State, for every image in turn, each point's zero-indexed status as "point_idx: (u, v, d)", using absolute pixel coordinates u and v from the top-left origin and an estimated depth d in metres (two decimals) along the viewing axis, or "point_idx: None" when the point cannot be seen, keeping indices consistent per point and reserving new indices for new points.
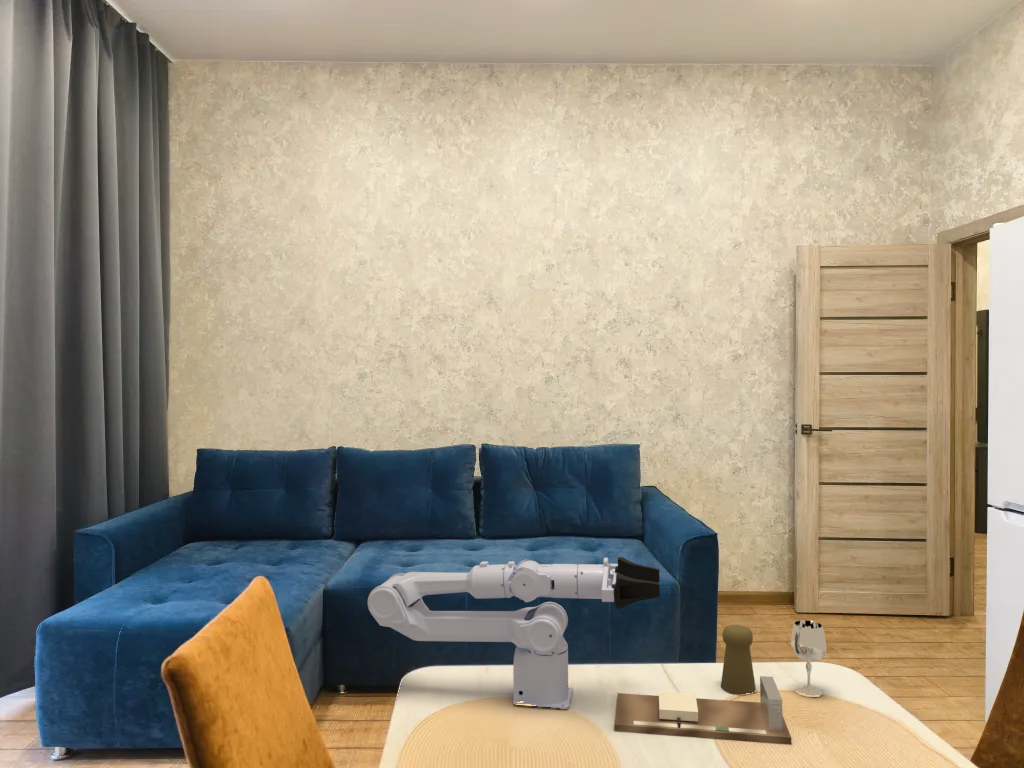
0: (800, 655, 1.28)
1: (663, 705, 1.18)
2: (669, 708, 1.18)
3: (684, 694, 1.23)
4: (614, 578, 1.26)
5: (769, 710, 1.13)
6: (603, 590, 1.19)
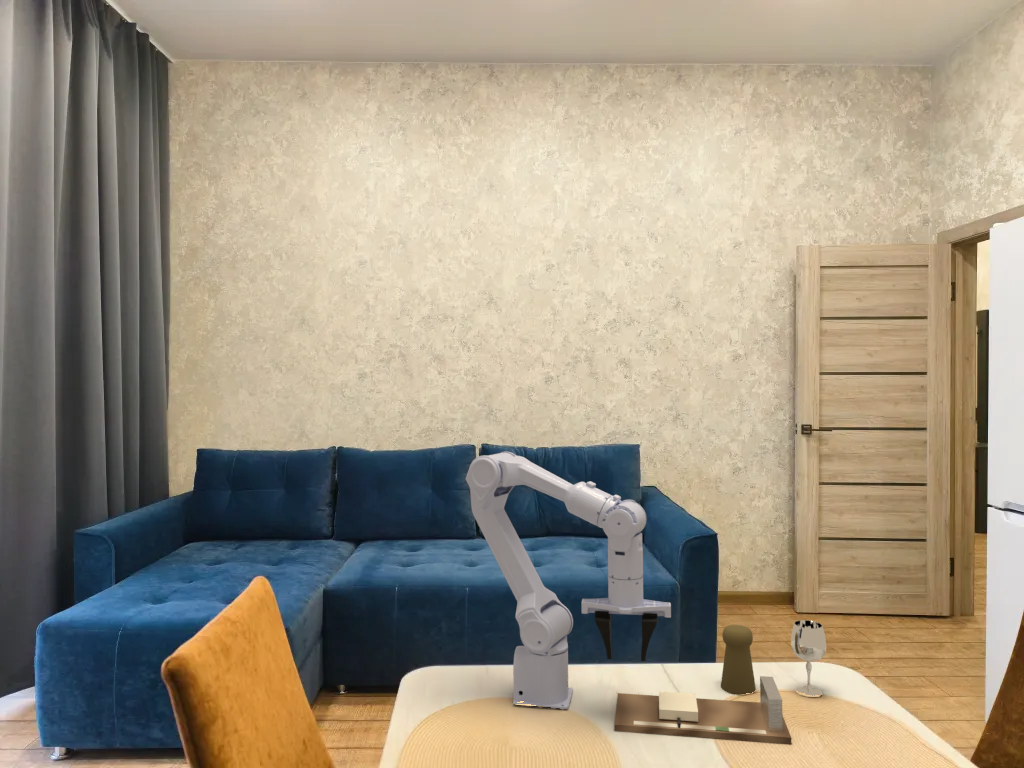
0: (800, 655, 1.28)
1: (663, 705, 1.18)
2: (669, 708, 1.18)
3: (684, 694, 1.23)
4: None
5: (769, 710, 1.13)
6: None
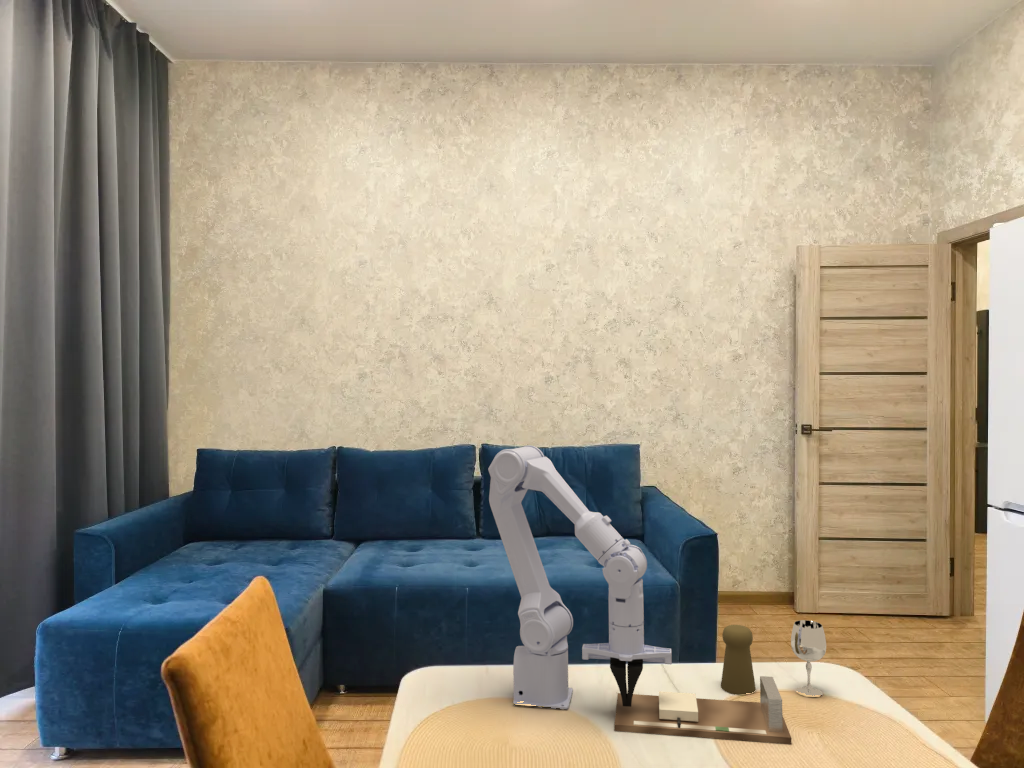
0: (800, 655, 1.28)
1: (663, 705, 1.18)
2: (669, 708, 1.18)
3: (684, 694, 1.23)
4: None
5: (769, 710, 1.13)
6: (582, 649, 1.22)
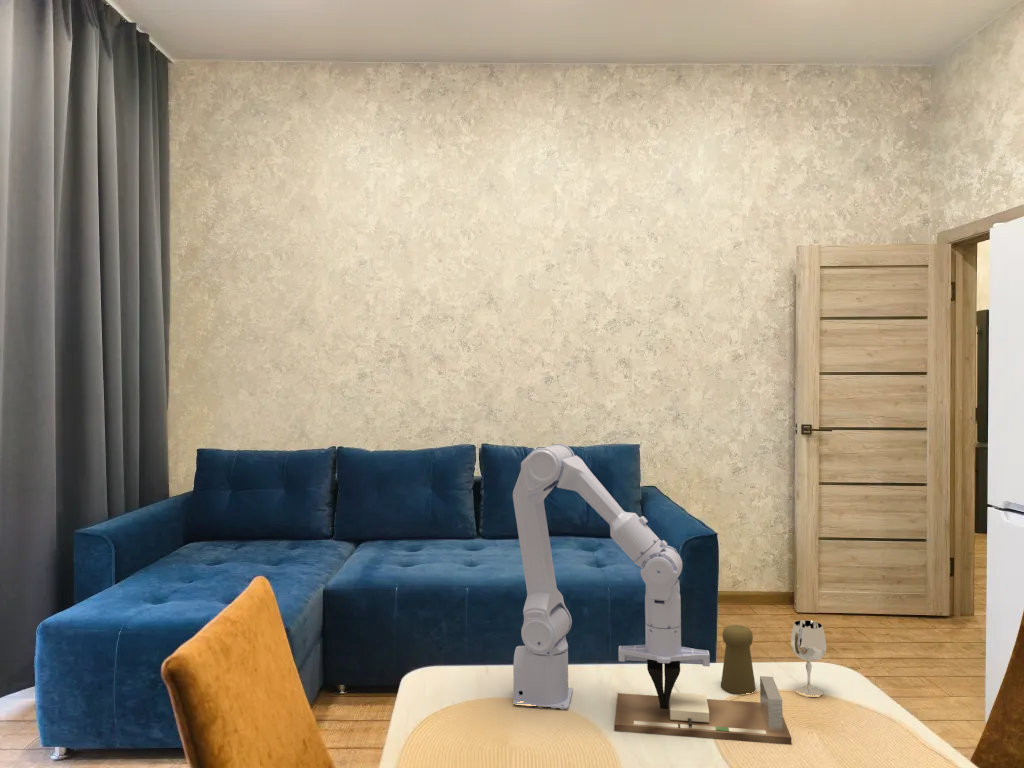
0: (800, 655, 1.28)
1: (673, 706, 1.18)
2: (680, 708, 1.17)
3: (695, 695, 1.22)
4: None
5: (769, 710, 1.13)
6: (618, 651, 1.21)
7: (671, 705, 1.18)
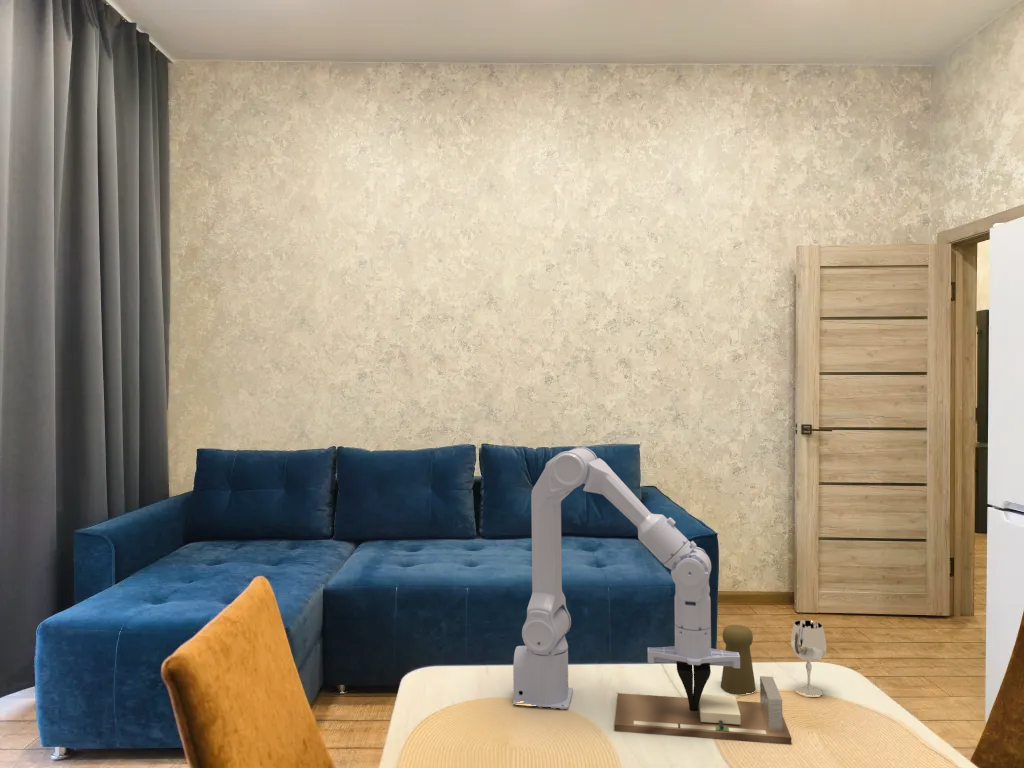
0: (800, 655, 1.28)
1: (704, 708, 1.17)
2: (711, 710, 1.16)
3: (724, 697, 1.21)
4: None
5: (769, 710, 1.13)
6: None
7: (701, 707, 1.18)
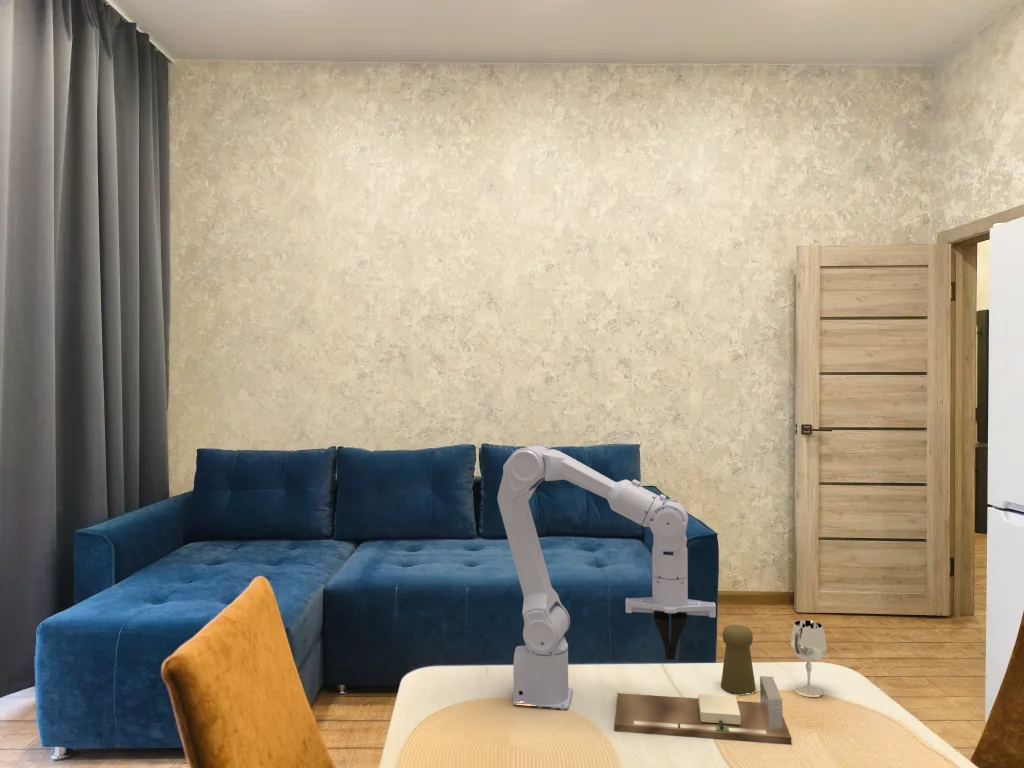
0: (800, 655, 1.28)
1: (704, 708, 1.17)
2: (711, 710, 1.16)
3: (724, 697, 1.21)
4: None
5: (769, 710, 1.13)
6: None
7: (701, 707, 1.18)
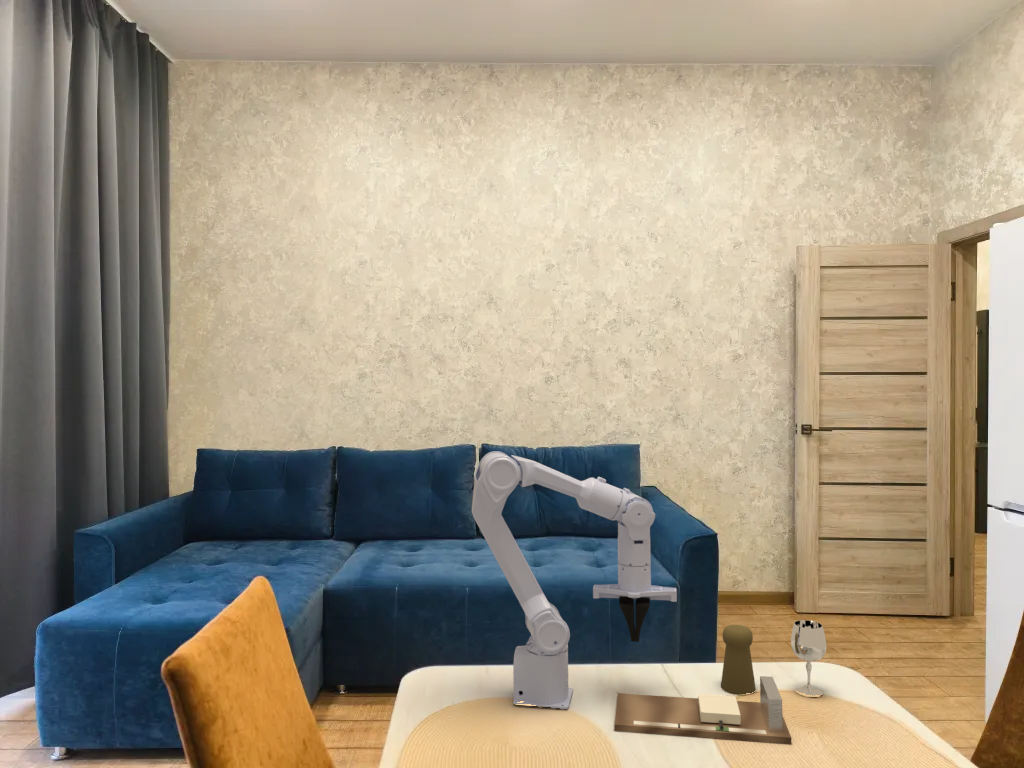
0: (800, 655, 1.28)
1: (704, 708, 1.17)
2: (711, 710, 1.16)
3: (724, 697, 1.21)
4: (638, 597, 1.30)
5: (769, 710, 1.13)
6: (593, 589, 1.31)
7: (701, 707, 1.18)
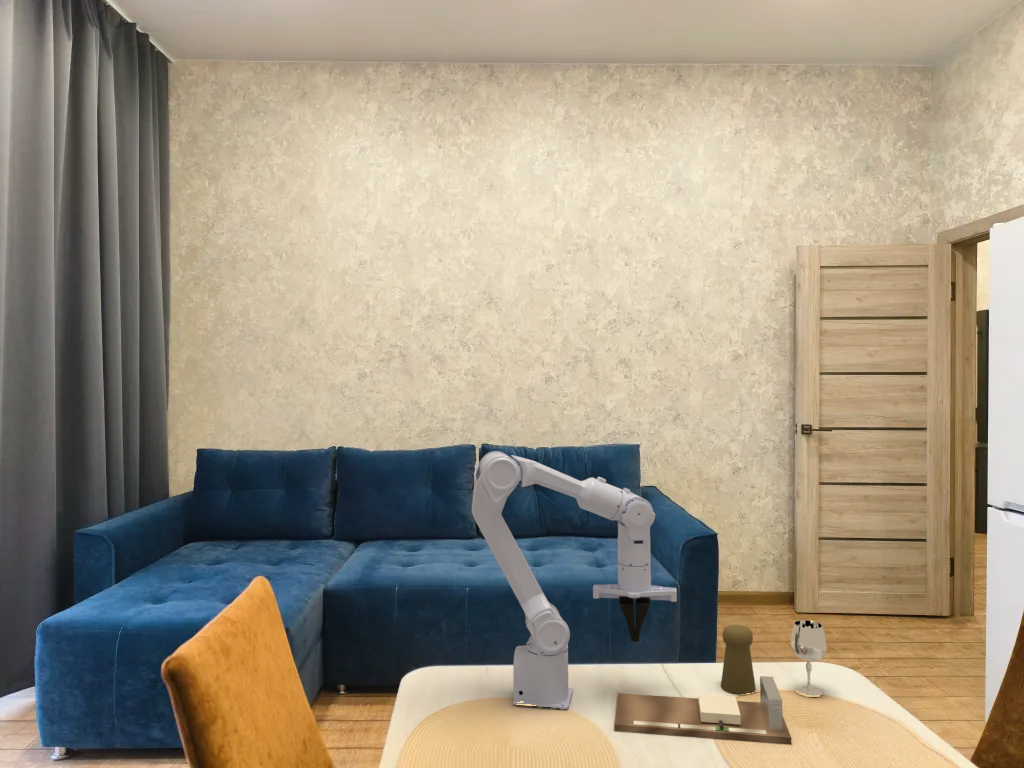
0: (800, 655, 1.28)
1: (704, 708, 1.17)
2: (711, 710, 1.16)
3: (724, 697, 1.21)
4: (638, 597, 1.30)
5: (769, 710, 1.13)
6: (593, 589, 1.31)
7: (701, 707, 1.18)
